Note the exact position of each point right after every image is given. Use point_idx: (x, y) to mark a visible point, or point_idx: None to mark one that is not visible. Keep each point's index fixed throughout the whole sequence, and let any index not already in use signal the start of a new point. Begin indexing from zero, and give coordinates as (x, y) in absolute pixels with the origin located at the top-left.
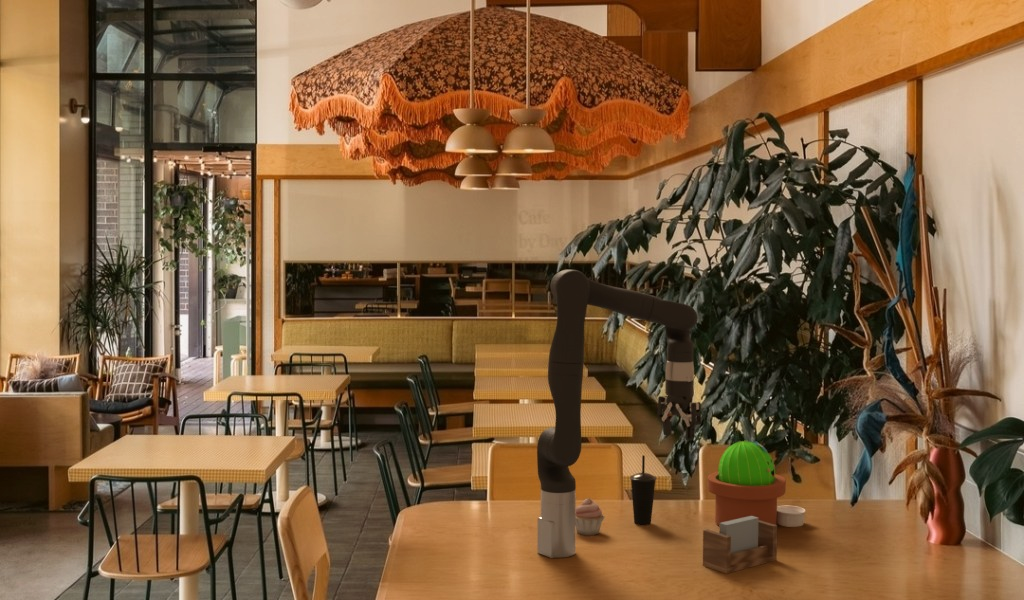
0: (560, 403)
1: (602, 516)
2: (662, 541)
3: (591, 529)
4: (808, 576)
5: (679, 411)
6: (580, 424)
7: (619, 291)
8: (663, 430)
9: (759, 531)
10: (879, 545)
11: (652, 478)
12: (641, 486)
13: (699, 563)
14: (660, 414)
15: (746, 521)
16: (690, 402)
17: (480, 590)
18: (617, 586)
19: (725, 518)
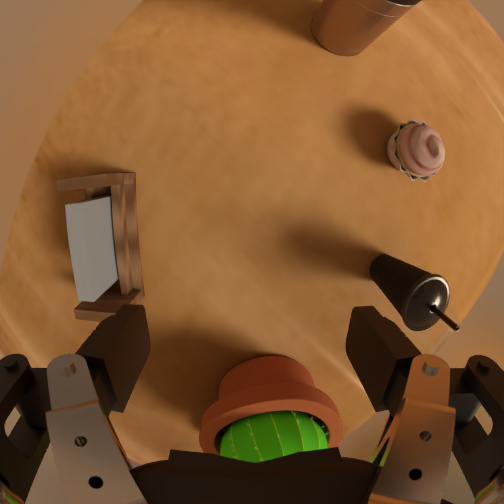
0: None
1: (405, 171)
2: (285, 216)
3: (391, 138)
4: (42, 268)
5: (120, 489)
6: None
7: None
8: (389, 323)
9: (107, 304)
10: (110, 417)
11: (407, 312)
12: (411, 279)
13: (146, 176)
14: (479, 380)
15: (73, 265)
16: None
17: None
18: (153, 9)
19: (269, 365)
